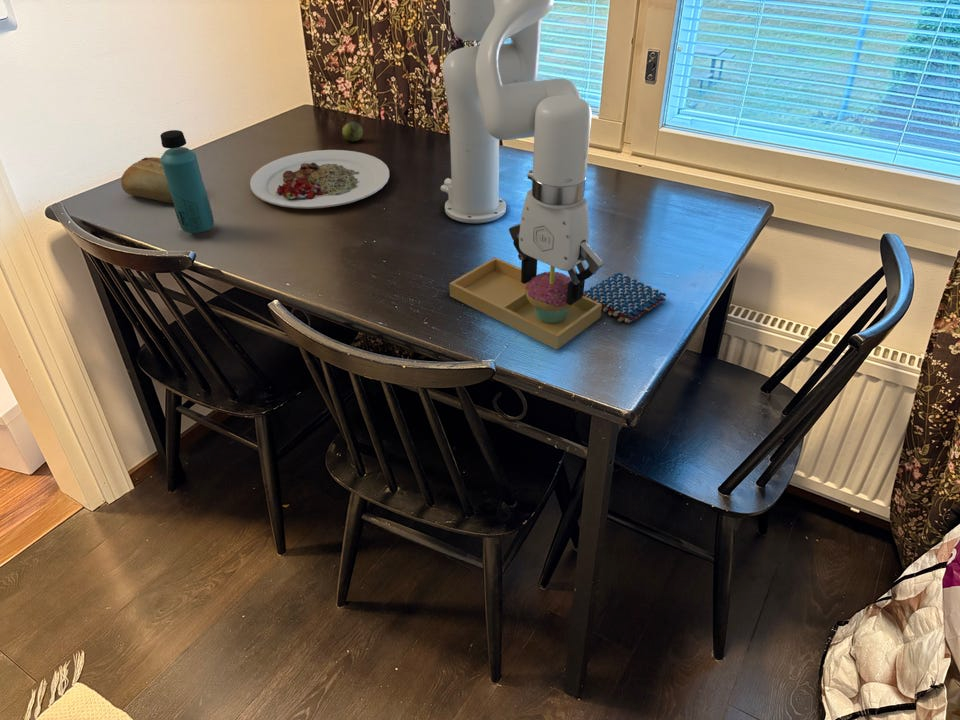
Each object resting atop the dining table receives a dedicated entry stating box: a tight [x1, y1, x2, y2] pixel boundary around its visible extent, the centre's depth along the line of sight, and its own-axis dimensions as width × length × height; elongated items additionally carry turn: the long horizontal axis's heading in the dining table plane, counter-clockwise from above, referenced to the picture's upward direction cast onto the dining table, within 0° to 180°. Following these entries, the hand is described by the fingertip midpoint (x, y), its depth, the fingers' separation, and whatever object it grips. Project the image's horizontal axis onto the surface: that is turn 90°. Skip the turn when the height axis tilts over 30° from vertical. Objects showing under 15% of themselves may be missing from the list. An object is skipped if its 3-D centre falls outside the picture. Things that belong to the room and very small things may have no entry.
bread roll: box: [120, 157, 174, 204], centre depth 150 cm, size 10×15×8 cm, turn 75°
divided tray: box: [449, 256, 603, 351], centre depth 118 cm, size 23×12×3 cm, turn 48°
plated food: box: [249, 149, 390, 209], centre depth 156 cm, size 30×30×3 cm
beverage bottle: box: [160, 129, 215, 234], centre depth 134 cm, size 6×7×20 cm
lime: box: [341, 121, 364, 143], centre depth 176 cm, size 4×5×5 cm
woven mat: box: [583, 272, 667, 324], centre depth 119 cm, size 10×11×2 cm
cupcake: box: [525, 265, 577, 323], centre depth 112 cm, size 9×8×12 cm
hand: (551, 290), depth 113 cm, fingers closed on cupcake, 8 cm apart
